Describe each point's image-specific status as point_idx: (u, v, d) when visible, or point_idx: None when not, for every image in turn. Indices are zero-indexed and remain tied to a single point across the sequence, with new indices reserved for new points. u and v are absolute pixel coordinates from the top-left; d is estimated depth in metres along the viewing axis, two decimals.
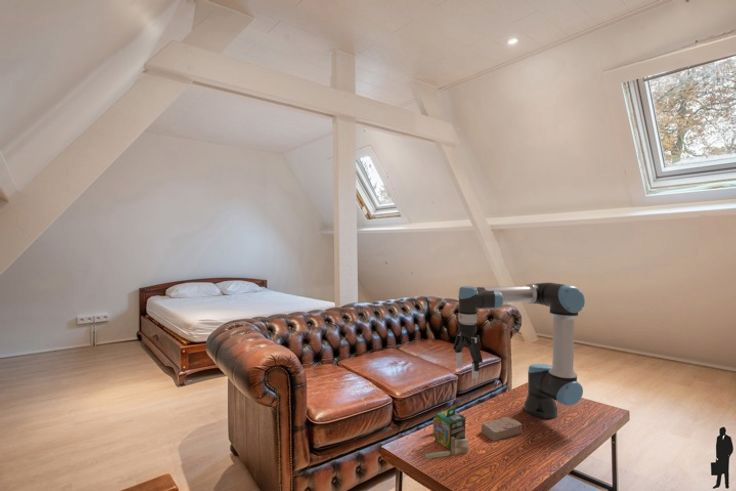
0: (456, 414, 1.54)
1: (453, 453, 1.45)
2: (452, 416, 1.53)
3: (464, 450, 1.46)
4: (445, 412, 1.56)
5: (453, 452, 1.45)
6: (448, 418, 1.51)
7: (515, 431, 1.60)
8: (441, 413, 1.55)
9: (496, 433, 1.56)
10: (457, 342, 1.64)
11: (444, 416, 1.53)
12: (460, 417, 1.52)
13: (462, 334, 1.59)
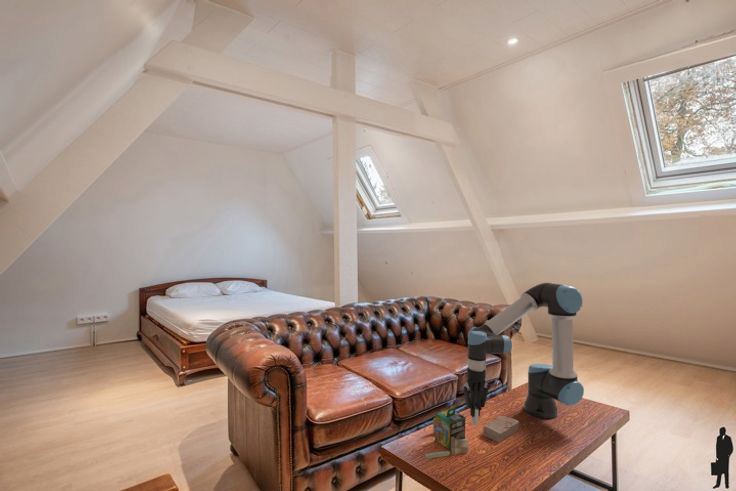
0: (456, 414, 1.54)
1: (453, 453, 1.45)
2: (452, 416, 1.53)
3: (464, 450, 1.46)
4: (445, 412, 1.56)
5: (453, 452, 1.45)
6: (448, 418, 1.51)
7: (514, 429, 1.62)
8: (441, 413, 1.55)
9: (501, 434, 1.55)
10: (481, 395, 1.58)
11: (444, 416, 1.53)
12: (460, 417, 1.52)
13: None
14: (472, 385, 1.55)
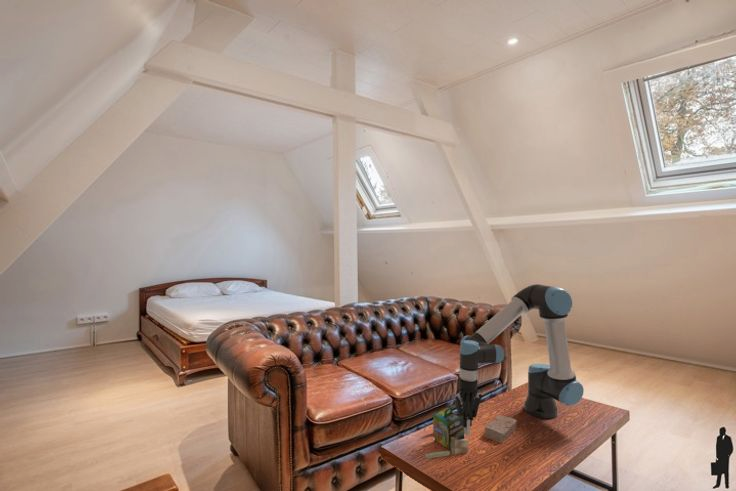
0: (454, 413, 1.54)
1: (453, 453, 1.45)
2: (450, 416, 1.52)
3: (464, 450, 1.46)
4: (443, 412, 1.55)
5: (453, 452, 1.45)
6: (446, 418, 1.50)
7: (513, 428, 1.63)
8: (439, 413, 1.54)
9: (504, 435, 1.55)
10: (473, 405, 1.57)
11: (442, 417, 1.52)
12: (458, 416, 1.51)
13: None
14: (464, 395, 1.54)
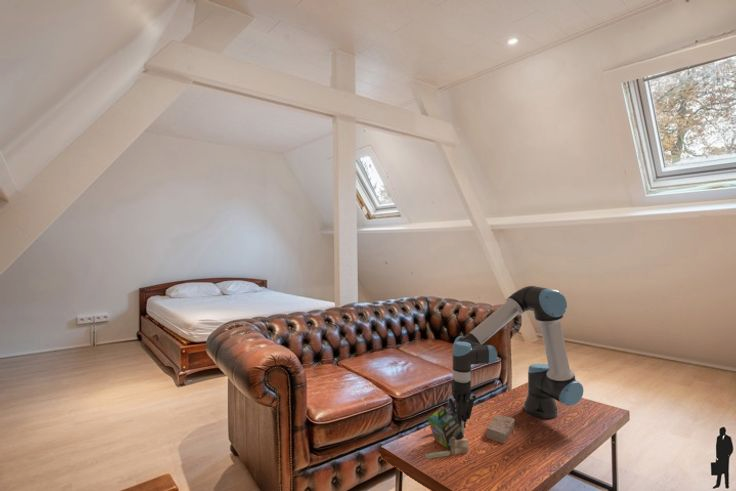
0: (448, 412, 1.52)
1: (453, 453, 1.45)
2: (444, 417, 1.50)
3: (464, 450, 1.46)
4: (437, 413, 1.54)
5: (453, 452, 1.45)
6: (440, 421, 1.49)
7: (512, 427, 1.64)
8: (433, 415, 1.53)
9: (506, 435, 1.55)
10: (467, 406, 1.56)
11: (436, 419, 1.50)
12: (452, 416, 1.49)
13: None
14: (457, 397, 1.53)
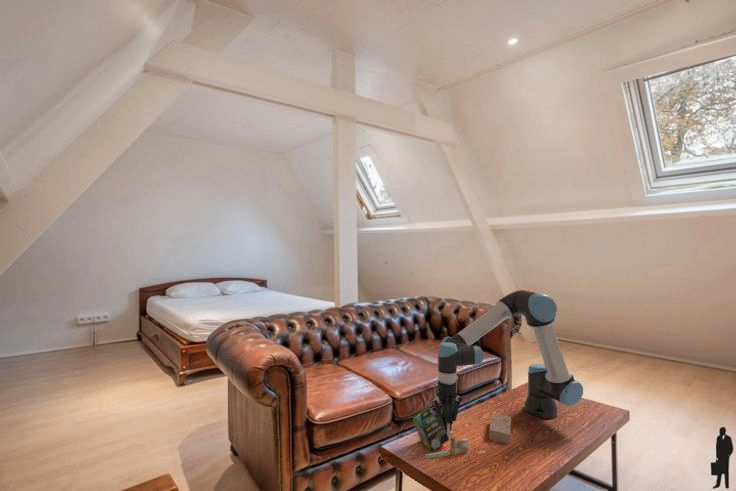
0: (432, 414, 1.51)
1: (453, 453, 1.45)
2: (427, 418, 1.49)
3: (464, 450, 1.46)
4: None
5: (453, 452, 1.45)
6: (422, 422, 1.48)
7: None
8: (418, 416, 1.53)
9: (509, 435, 1.55)
10: (453, 408, 1.54)
11: (419, 420, 1.50)
12: (435, 417, 1.48)
13: None
14: (443, 398, 1.51)
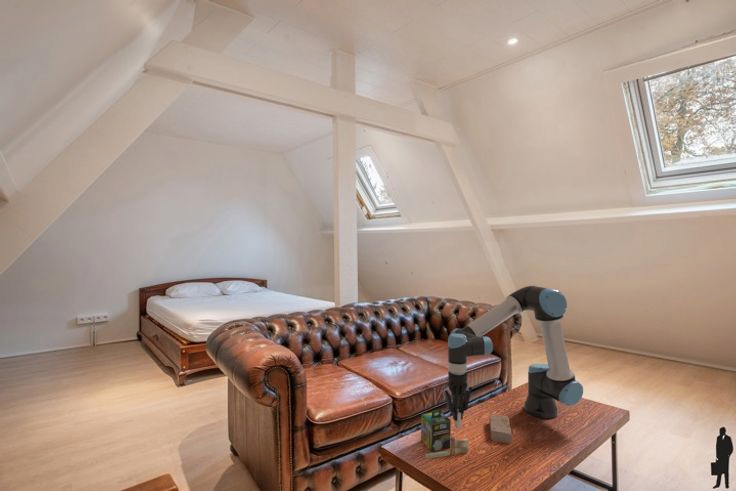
0: (442, 416, 1.52)
1: (453, 453, 1.45)
2: (437, 418, 1.51)
3: (464, 450, 1.46)
4: (432, 413, 1.55)
5: (453, 452, 1.45)
6: (432, 419, 1.50)
7: None
8: (427, 414, 1.54)
9: (511, 434, 1.55)
10: (464, 398, 1.56)
11: (429, 417, 1.51)
12: (445, 419, 1.50)
13: None
14: (453, 389, 1.53)
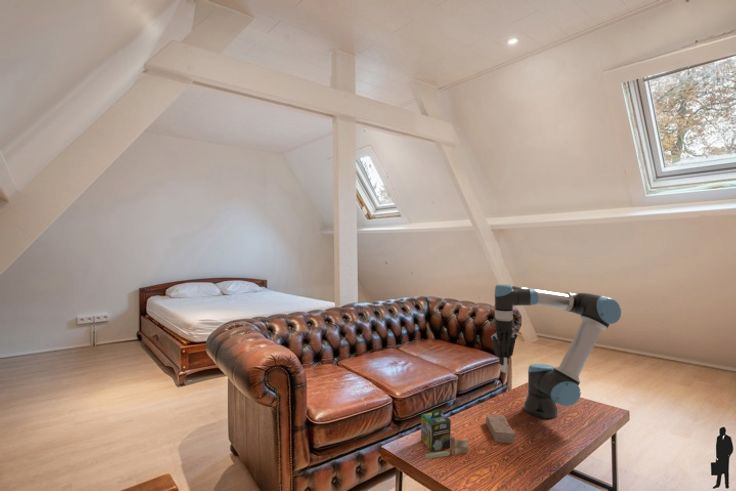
0: (442, 416, 1.52)
1: (453, 453, 1.45)
2: (437, 418, 1.51)
3: (464, 450, 1.46)
4: (432, 413, 1.55)
5: (453, 452, 1.45)
6: (432, 419, 1.50)
7: None
8: (427, 414, 1.54)
9: None
10: (509, 344, 1.67)
11: (429, 417, 1.51)
12: (445, 419, 1.50)
13: None
14: (500, 335, 1.64)
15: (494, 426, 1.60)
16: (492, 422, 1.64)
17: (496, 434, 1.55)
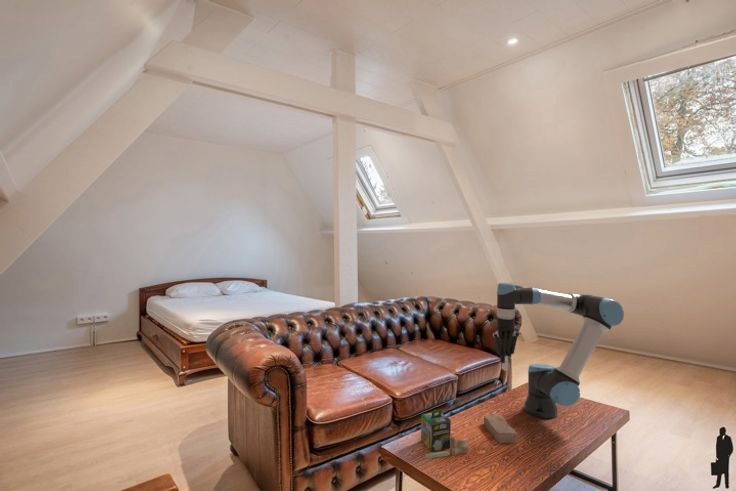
0: (442, 416, 1.52)
1: (453, 453, 1.45)
2: (437, 418, 1.51)
3: (464, 450, 1.46)
4: (432, 413, 1.55)
5: (453, 452, 1.45)
6: (432, 419, 1.50)
7: None
8: (427, 414, 1.54)
9: None
10: None
11: (429, 417, 1.51)
12: (445, 419, 1.50)
13: None
14: (502, 333, 1.64)
15: (495, 427, 1.60)
16: (492, 423, 1.63)
17: (499, 435, 1.54)
